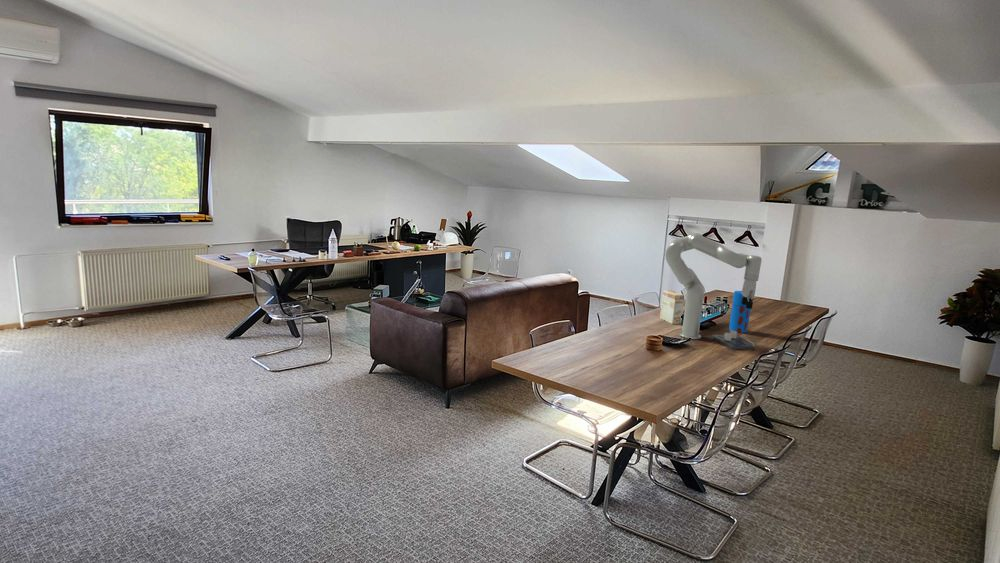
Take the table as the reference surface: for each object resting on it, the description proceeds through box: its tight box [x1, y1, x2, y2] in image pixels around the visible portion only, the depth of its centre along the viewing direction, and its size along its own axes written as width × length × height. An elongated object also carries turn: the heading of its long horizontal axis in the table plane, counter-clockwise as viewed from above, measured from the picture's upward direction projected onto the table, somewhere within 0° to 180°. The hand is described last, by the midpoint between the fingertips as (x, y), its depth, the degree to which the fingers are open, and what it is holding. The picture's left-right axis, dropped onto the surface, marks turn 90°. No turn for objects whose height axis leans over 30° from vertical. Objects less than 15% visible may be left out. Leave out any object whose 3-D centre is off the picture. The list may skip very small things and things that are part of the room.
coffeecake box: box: [659, 289, 685, 325], centre depth 368 cm, size 15×7×20 cm, turn 16°
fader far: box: [729, 330, 738, 338], centre depth 328 cm, size 3×2×4 cm
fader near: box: [724, 332, 732, 341], centre depth 322 cm, size 3×2×4 cm
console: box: [710, 334, 756, 350], centre depth 324 cm, size 22×14×4 cm, turn 9°
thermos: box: [728, 290, 751, 334], centre depth 352 cm, size 11×11×25 cm
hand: (746, 306), depth 320 cm, fingers open, 9 cm apart
